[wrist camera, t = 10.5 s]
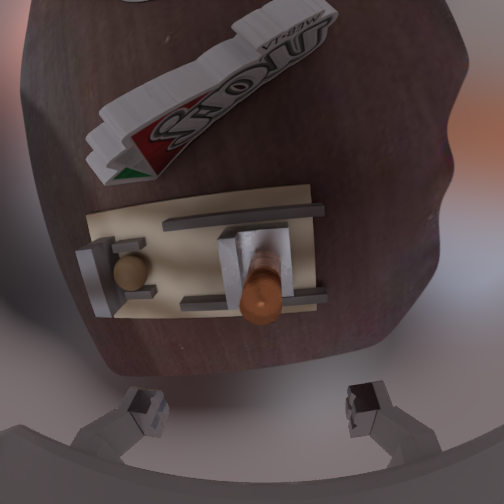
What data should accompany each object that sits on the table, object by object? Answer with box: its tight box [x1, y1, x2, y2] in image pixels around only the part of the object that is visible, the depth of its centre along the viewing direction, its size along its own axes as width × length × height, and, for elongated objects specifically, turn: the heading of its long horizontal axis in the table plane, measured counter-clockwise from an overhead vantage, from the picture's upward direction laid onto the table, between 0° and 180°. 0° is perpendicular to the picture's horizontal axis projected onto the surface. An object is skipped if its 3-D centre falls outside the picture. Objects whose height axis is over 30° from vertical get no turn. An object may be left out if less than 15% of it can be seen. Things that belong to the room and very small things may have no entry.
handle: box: [217, 222, 294, 325], centre depth 25 cm, size 7×6×10 cm
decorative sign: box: [86, 0, 339, 186], centre depth 20 cm, size 23×3×15 cm, turn 130°
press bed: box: [75, 183, 328, 318], centre depth 29 cm, size 14×27×6 cm, turn 97°
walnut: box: [113, 255, 148, 291], centre depth 30 cm, size 4×4×4 cm
